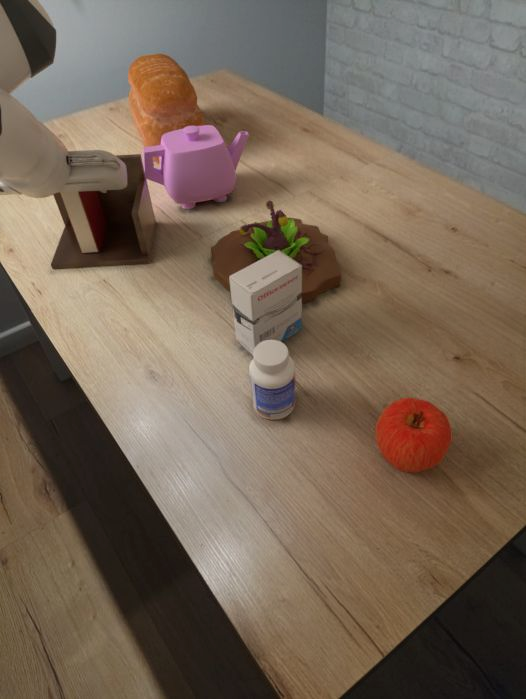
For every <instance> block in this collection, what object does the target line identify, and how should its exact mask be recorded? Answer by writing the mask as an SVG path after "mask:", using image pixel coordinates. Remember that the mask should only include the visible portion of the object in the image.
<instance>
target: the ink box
mask: <svg viewBox="0 0 526 699" xmlns="http://www.w3.org/2000/svg"><path fill="white" fill-rule="evenodd" d="M229 281H230V289H231V293H230V296H231V297H230V298H231V304H232V306H231V307H232V314H233V322H234V331H235V339H236V341H237V342H238V343H239V344H240V345H241V346H242V347H243V348H244V350H246V351H247V352H248V353H250V355H252V356H253V352H254V349H255V347H256V346H257V345H258V344H259V343H261V342H263V341H266V340H277V341H280V342H282V343H284V341H286V340H288V339H290V337H292V336H294V335H295V334H296V333H298V332H300V331H301V330H302V317H303V315H302V312H303V310H302V308H303V304H302V265H301V264H299V263H298V262H296V261H295V260H293V259H292V258H290V257H289V256H287V255H286V254H284V253H283V252H281V251H280V250H277V251H276V252H274V253H272V254H270V255H268V256H266V257H265V258H263V259H261V260H259V261H257V262H255V263H253V264H251V265H250V266H248V267H246V268H244V269H242V270H240V271H238V272H236V273H234V274H232V275H231V276H229Z"/></svg>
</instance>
